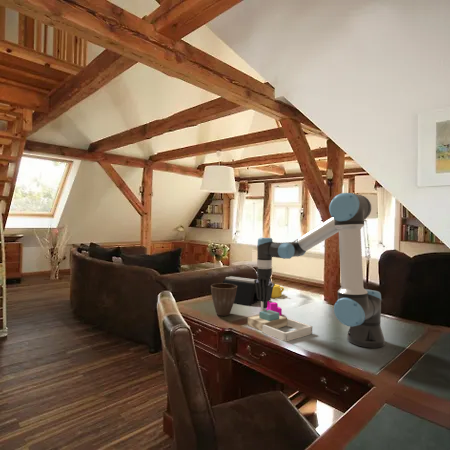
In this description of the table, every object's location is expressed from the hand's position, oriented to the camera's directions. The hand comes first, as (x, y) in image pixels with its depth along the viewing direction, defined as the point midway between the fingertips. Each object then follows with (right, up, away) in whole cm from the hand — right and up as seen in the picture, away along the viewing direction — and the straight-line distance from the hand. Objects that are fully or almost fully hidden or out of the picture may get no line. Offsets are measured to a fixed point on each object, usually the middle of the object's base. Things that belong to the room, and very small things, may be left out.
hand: (263, 313), depth 167 cm
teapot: (+13, -5, +59) cm, 61 cm away
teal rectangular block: (+3, -1, -3) cm, 4 cm away
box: (+10, -6, -13) cm, 17 cm away
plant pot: (-21, -5, +17) cm, 27 cm away
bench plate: (+2, -5, -2) cm, 6 cm away
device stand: (-8, -5, +49) cm, 50 cm away
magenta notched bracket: (+7, -6, +21) cm, 23 cm away
